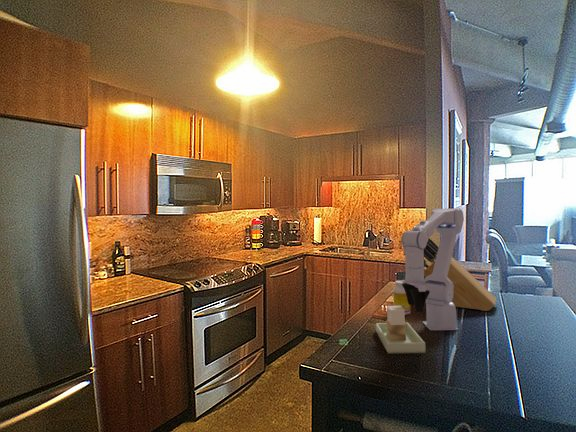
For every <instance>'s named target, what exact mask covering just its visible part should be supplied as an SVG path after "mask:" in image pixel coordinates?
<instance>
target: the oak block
mask: <svg viewBox="0 0 576 432" xmlns="http://www.w3.org/2000/svg"><path fill="white" fill-rule="evenodd" d="M385 323H386V327H387V336H388V338H389V339H390V341H403V340H406V325H390V323H389V322H388V319H386V320H385Z"/></svg>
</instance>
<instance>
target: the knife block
mask: <svg viewBox="0 0 576 432" xmlns="http://www.w3.org/2000/svg"><path fill="white" fill-rule="evenodd" d="M438 248H439V245H437V244H436V243H435V242H434V241H433V240H432V239H431V237H430V238H428V241H427V244H426V247H425V248H424V279H425V277H427V276H429V275H431V274H432V273H433V269H434V265H435V261H436V256H437V252H438ZM403 255H404V256H405V253H404V252H403ZM426 260H427V261H428V262H430V263H431V264H430V265H429V264H427V263H426V262H427V261H426ZM447 278H448V279H449V280H450V281H451V282H452V283H453V285H454V288H453V299H452V301H451V302H453V303H454V305H455V308H463V309H473V310H479V311H482V312H485V311H486V312H487V311H488V312H489V311H491V309H493V308H494V307H495V306H496V302H497V298H496V296H495V295H494V294H492V293H491V292H490V291H489V290H488V289H487V288H486V287H485V286H484V285H483V284H482V283H481V282H480V281H479V280H478V279H476V278H475V277H474V276H473V275H472V274H471V273H470V272H469V271H468V270H467V269H466V268H465V267H463V265H462V264H460V262H458V261H457V260H456V259H455V258H454V257H453V256H452V258H451V262H450V267H449V271H448V276H447Z"/></svg>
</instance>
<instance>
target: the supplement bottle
mask: <svg viewBox="0 0 576 432" xmlns="http://www.w3.org/2000/svg"><path fill="white" fill-rule="evenodd" d="M402 280H403V279H401V280H399V279H398V280H395V282H394V283H395V286H394V287H393V289H392V293H393V294H392V295H393V296H392V297H393V298H392V300H393V306H401V307H402V308H403V309H404V310H405V316H406V315H410V314H411V312H412V311H411V309H412V307H411V306H412V305H409V304H408V301H407V296H406V293H405V290H404V288H403V286H402V283H403V282H402Z"/></svg>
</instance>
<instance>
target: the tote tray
mask: <svg viewBox="0 0 576 432" xmlns="http://www.w3.org/2000/svg"><path fill="white" fill-rule="evenodd" d="M405 325H406V340H403V341H390V339H389V338H388V336H387V327H386V322H378V323H377V322H376V323H375V332H376V335H377V336H378V338H379V340H380V342H381V343H382V346H383V348H384V349H385V351H386V352H387V354H393V355H394V354H426V349H427V348H426V342H425V341H424V339H422V337H421V336H420V335H419V334H418V333H417V332H416V330H415V329H414V328H413V327H412V325H411V324H410V323H409V322H405Z"/></svg>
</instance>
